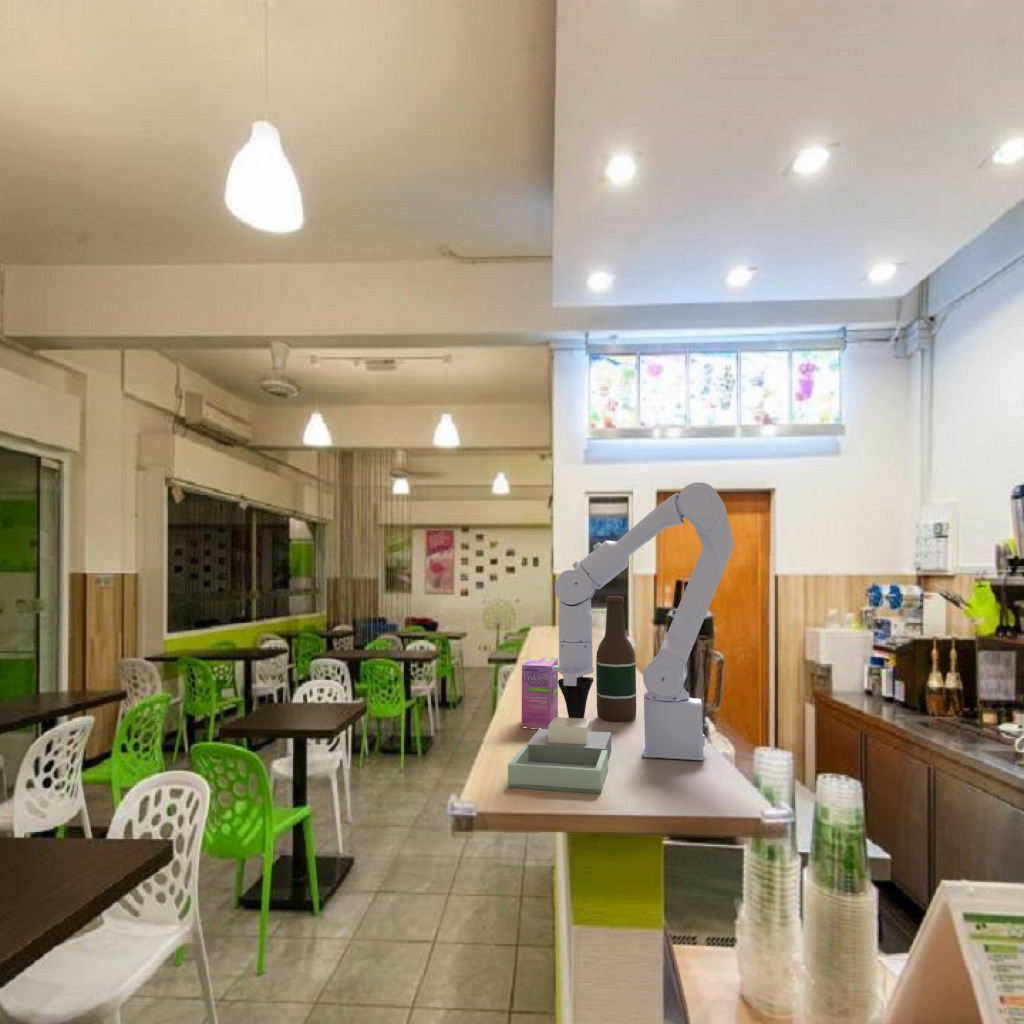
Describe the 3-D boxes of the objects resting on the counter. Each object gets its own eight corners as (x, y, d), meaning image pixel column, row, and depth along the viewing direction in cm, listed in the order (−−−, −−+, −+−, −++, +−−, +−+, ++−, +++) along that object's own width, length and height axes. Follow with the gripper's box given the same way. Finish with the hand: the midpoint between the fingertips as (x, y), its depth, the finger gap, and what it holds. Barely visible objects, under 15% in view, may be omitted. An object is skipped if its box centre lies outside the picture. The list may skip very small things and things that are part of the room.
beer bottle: (636, 714, 139) (634, 595, 140) (636, 723, 131) (634, 597, 133) (597, 712, 140) (596, 595, 142) (595, 721, 132) (594, 597, 134)
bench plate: (611, 751, 112) (610, 732, 112) (605, 769, 102) (605, 748, 102) (539, 746, 115) (539, 728, 115) (527, 764, 105) (526, 744, 105)
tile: (591, 734, 111) (591, 718, 111) (586, 744, 105) (586, 727, 105) (554, 732, 112) (554, 717, 112) (548, 742, 106) (548, 725, 107)
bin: (608, 769, 102) (607, 749, 102) (600, 793, 92) (600, 770, 92) (524, 764, 105) (524, 744, 105) (508, 786, 95) (508, 764, 95)
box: (551, 730, 126) (550, 665, 127) (521, 728, 127) (520, 664, 128) (559, 717, 136) (558, 657, 137) (530, 716, 138) (530, 656, 138)
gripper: (559, 635, 125) (560, 711, 124) (544, 645, 111) (545, 731, 110) (598, 636, 123) (599, 713, 122) (588, 646, 109) (589, 733, 108)
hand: (576, 721), depth 116 cm, fingers closed
